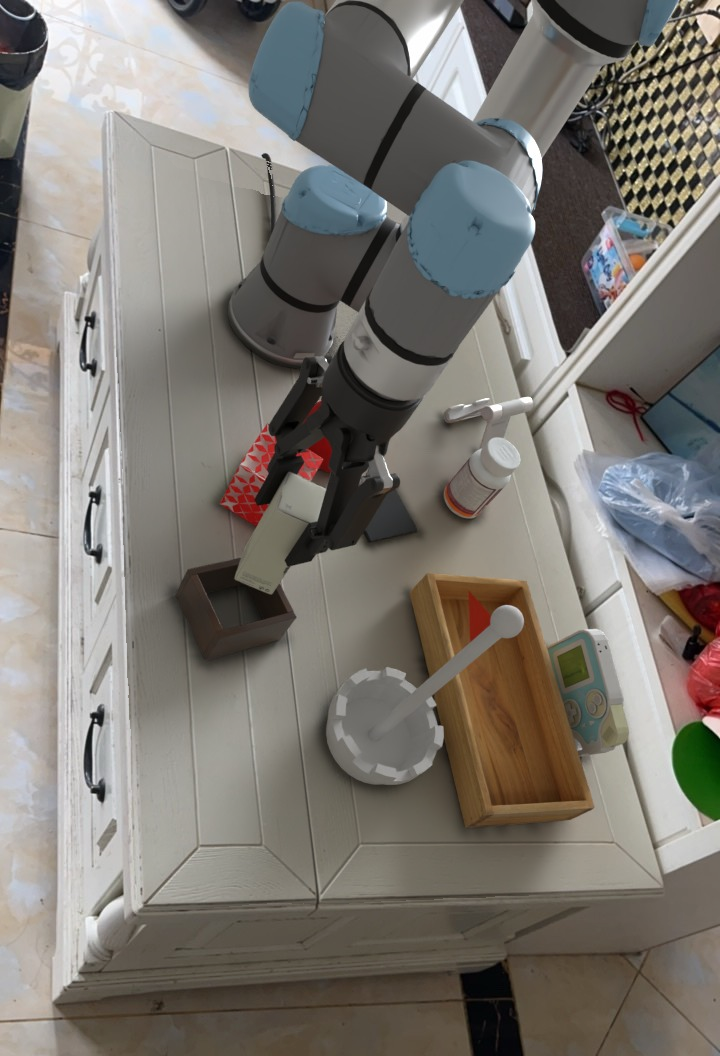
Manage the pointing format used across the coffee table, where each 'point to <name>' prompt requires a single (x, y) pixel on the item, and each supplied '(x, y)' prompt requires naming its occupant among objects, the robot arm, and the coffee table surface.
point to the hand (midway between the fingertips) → (282, 530)
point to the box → (279, 532)
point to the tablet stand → (490, 415)
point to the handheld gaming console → (590, 691)
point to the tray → (500, 708)
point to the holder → (207, 624)
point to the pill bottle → (481, 478)
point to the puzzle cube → (259, 477)
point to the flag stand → (403, 708)
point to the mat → (390, 520)
